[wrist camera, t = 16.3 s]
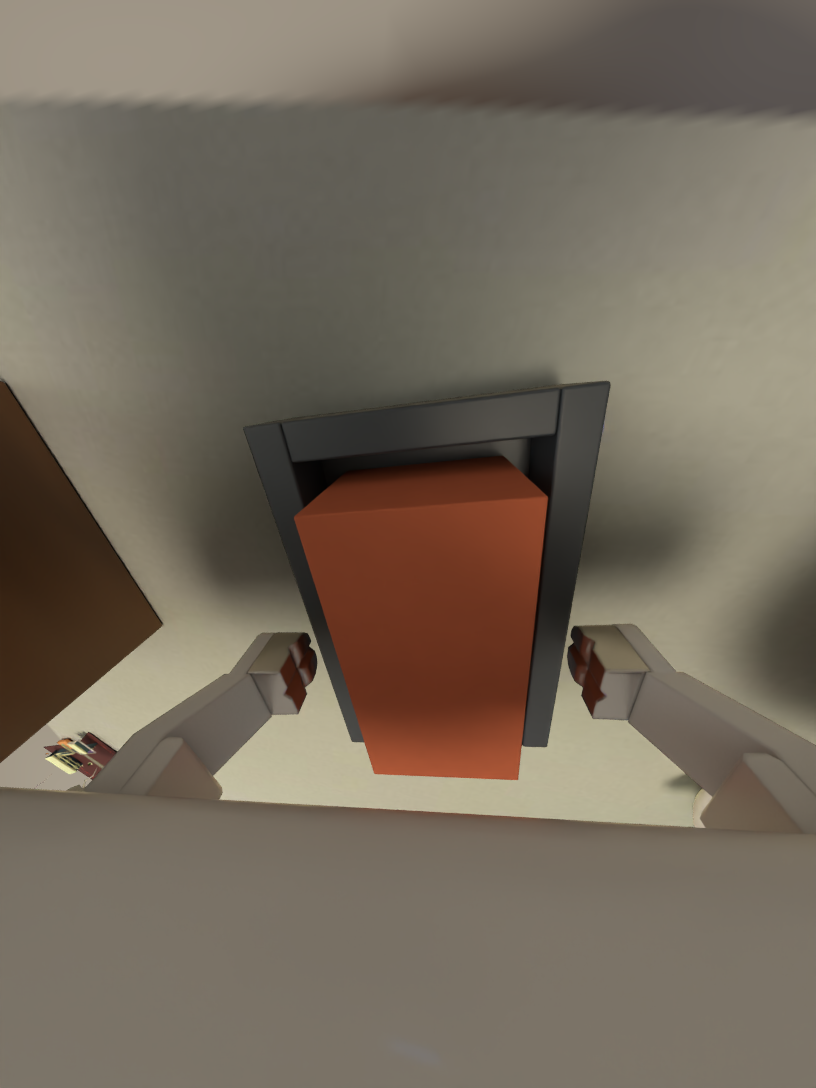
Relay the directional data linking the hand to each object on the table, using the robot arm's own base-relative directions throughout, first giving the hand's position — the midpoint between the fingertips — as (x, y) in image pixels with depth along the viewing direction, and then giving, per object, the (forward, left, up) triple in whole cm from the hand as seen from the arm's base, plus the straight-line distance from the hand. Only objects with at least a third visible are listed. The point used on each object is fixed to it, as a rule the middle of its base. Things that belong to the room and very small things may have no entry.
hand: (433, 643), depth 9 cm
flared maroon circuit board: (+23, -26, -4) cm, 35 cm away
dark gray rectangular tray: (0, 0, -3) cm, 3 cm away
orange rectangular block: (0, 0, -3) cm, 3 cm away
